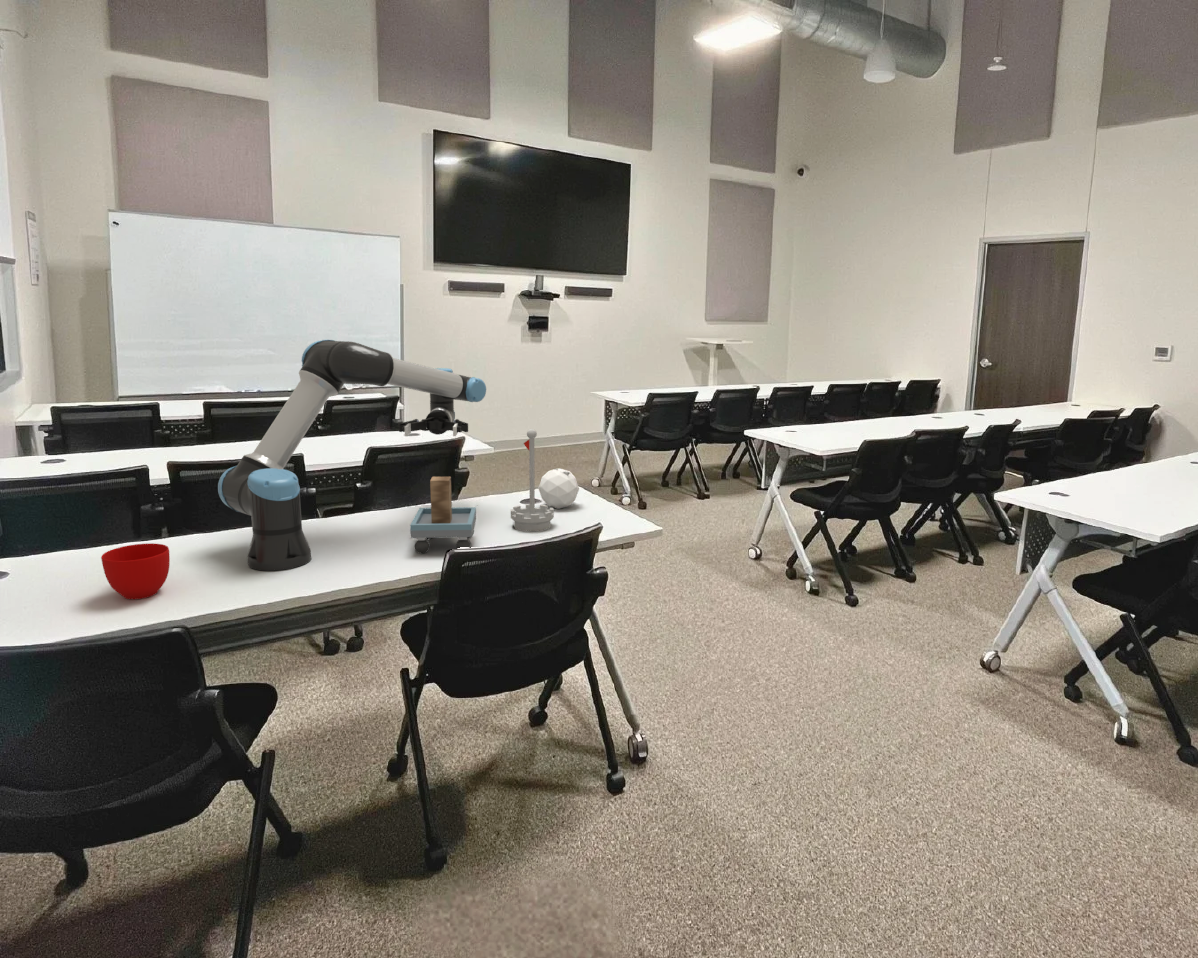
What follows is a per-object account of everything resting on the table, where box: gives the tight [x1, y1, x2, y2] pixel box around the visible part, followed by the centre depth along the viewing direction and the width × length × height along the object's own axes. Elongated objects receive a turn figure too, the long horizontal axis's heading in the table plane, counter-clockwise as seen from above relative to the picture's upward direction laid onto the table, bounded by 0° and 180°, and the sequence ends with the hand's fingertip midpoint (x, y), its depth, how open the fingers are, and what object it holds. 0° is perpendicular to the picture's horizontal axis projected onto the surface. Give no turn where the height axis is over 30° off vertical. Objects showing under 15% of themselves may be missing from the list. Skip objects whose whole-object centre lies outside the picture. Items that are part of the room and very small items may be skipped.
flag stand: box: [510, 428, 555, 532], centre depth 224 cm, size 13×13×30 cm
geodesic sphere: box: [537, 467, 580, 509], centre depth 249 cm, size 14×14×14 cm
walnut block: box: [429, 476, 453, 524], centre depth 205 cm, size 5×5×12 cm
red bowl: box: [100, 543, 171, 600], centre depth 169 cm, size 13×17×10 cm
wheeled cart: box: [409, 506, 477, 554], centre depth 207 cm, size 16×18×8 cm
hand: (430, 431), depth 213 cm, fingers open, 13 cm apart
